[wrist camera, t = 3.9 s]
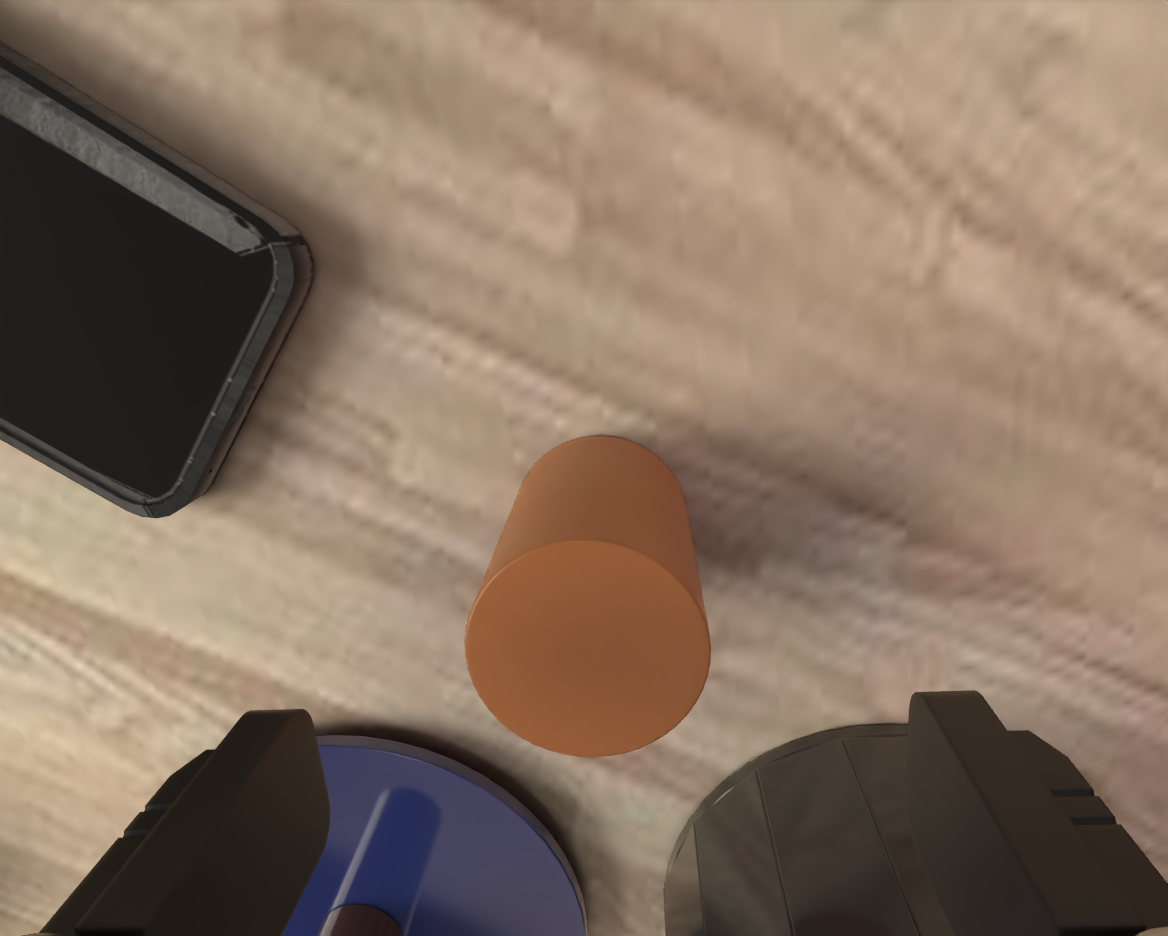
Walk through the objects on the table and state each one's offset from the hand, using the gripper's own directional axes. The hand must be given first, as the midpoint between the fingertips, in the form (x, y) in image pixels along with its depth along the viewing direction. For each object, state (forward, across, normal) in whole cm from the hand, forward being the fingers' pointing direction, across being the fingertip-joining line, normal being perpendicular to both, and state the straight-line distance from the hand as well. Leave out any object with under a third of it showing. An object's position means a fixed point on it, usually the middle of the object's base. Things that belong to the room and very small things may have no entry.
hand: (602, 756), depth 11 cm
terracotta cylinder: (+9, 0, 0) cm, 9 cm away
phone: (+9, +14, -8) cm, 19 cm away
